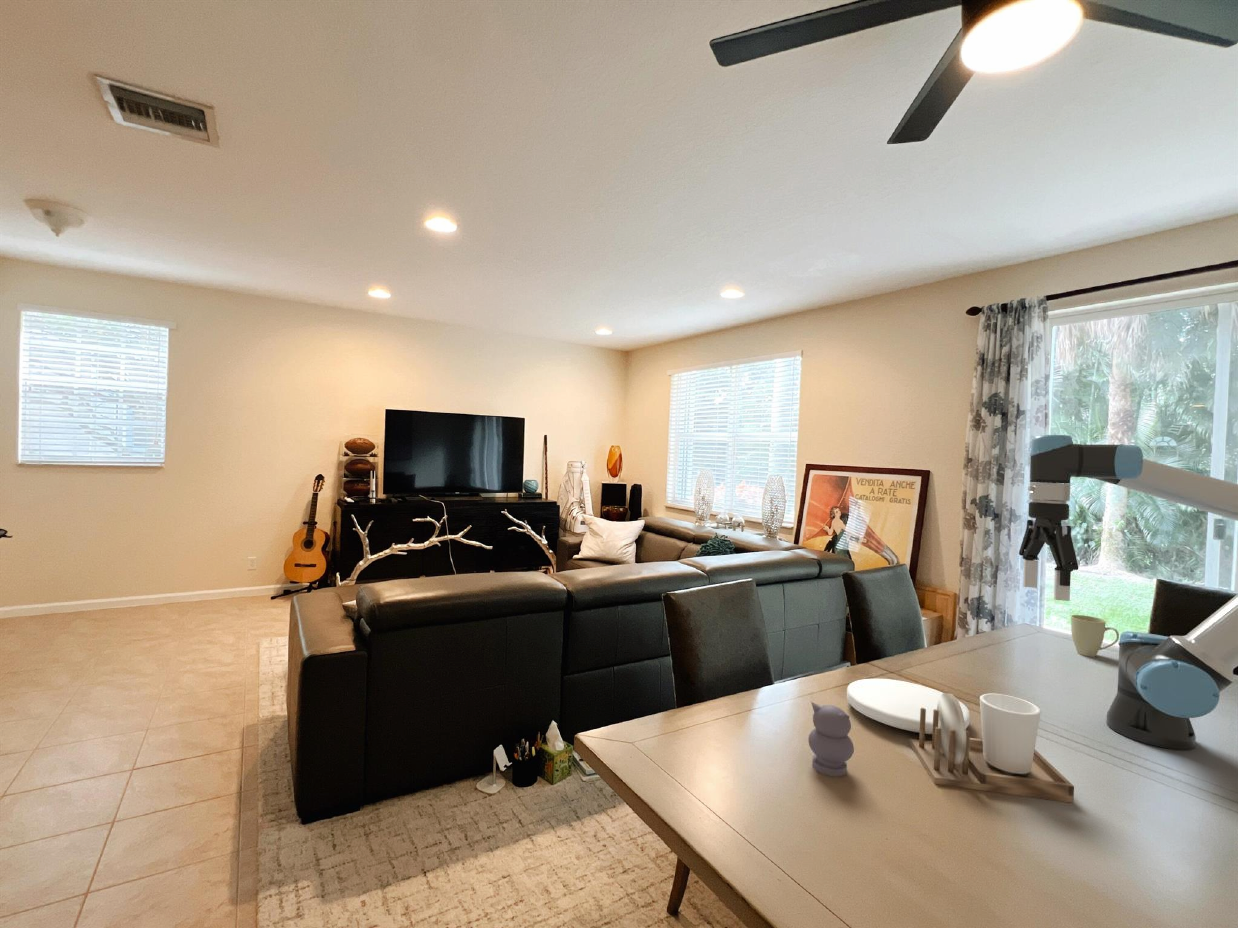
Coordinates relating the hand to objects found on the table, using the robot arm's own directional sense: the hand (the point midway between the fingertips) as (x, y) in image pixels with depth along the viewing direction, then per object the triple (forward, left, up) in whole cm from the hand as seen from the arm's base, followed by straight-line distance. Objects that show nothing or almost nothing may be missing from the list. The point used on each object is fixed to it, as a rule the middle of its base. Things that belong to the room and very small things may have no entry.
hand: (1045, 593), depth 132 cm
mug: (-47, -68, -32) cm, 89 cm away
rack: (+21, +24, -32) cm, 45 cm away
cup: (+17, +24, -31) cm, 42 cm away
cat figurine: (+51, +31, -32) cm, 68 cm away
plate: (+29, +1, -32) cm, 43 cm away
